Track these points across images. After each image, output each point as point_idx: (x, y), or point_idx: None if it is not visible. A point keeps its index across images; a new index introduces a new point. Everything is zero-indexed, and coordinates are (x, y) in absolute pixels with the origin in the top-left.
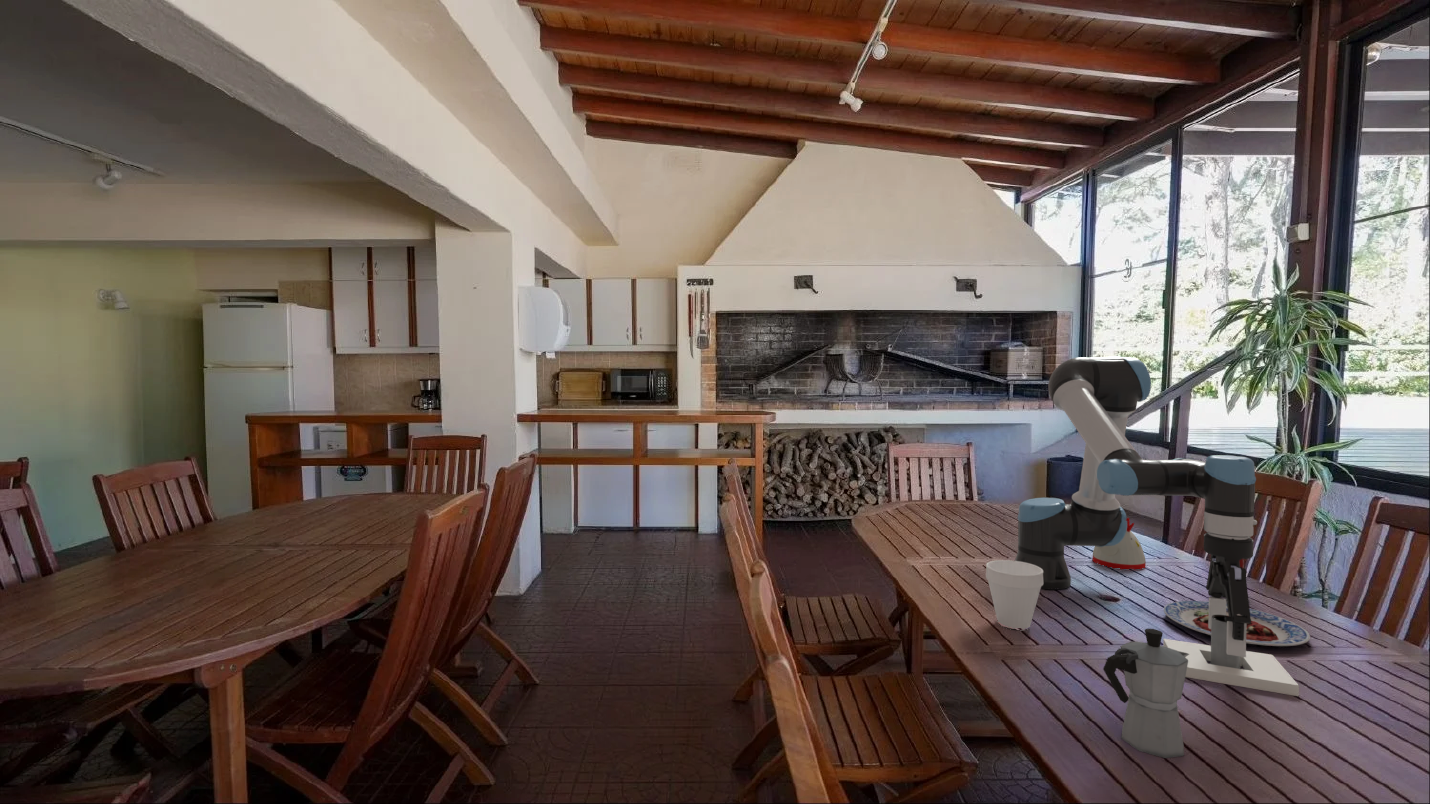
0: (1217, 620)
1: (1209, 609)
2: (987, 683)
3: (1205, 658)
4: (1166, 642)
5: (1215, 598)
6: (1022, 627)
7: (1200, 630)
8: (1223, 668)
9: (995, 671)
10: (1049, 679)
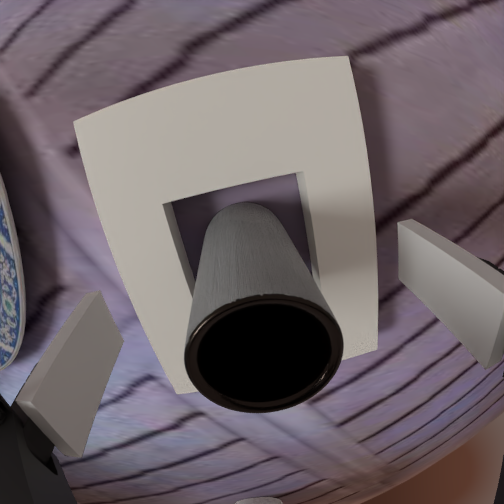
0: (321, 388)
1: (96, 405)
2: (462, 443)
3: None
4: None
5: (64, 441)
6: (277, 502)
7: (23, 316)
8: (339, 256)
9: (434, 456)
10: (444, 428)
